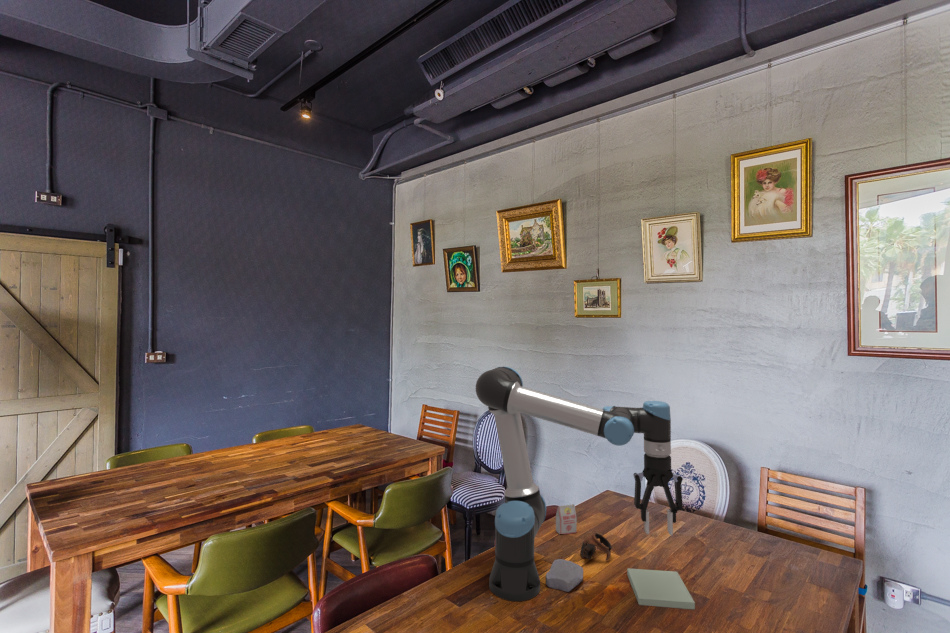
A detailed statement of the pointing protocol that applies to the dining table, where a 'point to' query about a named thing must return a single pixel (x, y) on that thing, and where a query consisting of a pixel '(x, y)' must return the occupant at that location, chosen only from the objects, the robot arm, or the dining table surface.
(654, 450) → the robot arm
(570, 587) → the stone block
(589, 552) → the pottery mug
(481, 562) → the dining table surface
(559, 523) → the white food box
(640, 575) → the base
